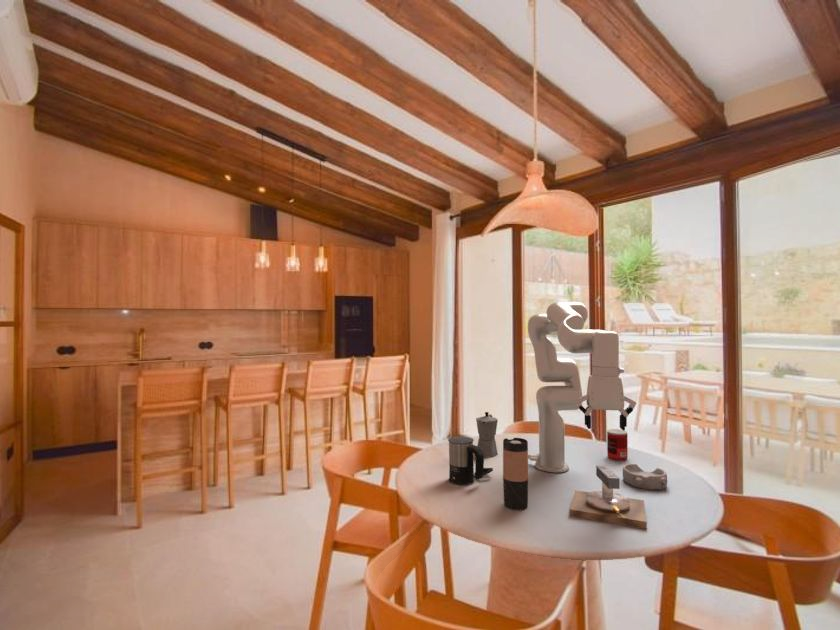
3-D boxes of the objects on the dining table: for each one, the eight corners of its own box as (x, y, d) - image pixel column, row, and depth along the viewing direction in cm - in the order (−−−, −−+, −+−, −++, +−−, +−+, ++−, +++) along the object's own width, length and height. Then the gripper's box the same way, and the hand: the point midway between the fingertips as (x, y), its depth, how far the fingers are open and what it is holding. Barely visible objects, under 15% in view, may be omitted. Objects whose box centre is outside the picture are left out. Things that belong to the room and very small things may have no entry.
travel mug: (523, 512, 132) (523, 445, 132) (499, 507, 136) (499, 441, 136) (531, 503, 138) (531, 439, 139) (508, 498, 143) (508, 436, 143)
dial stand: (569, 516, 129) (569, 508, 129) (575, 496, 144) (575, 489, 144) (646, 529, 121) (646, 521, 121) (644, 506, 136) (644, 499, 136)
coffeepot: (494, 459, 183) (494, 415, 183) (472, 457, 186) (472, 414, 186) (501, 449, 197) (501, 409, 197) (481, 447, 200) (480, 407, 201)
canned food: (628, 456, 186) (628, 430, 186) (626, 461, 179) (625, 434, 179) (609, 453, 190) (609, 428, 190) (605, 458, 183) (605, 432, 184)
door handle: (581, 495, 139) (581, 464, 139) (620, 496, 138) (620, 465, 139) (596, 515, 125) (595, 481, 125) (640, 516, 124) (639, 482, 124)
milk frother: (444, 483, 157) (444, 440, 157) (460, 469, 171) (460, 430, 171) (482, 489, 150) (482, 445, 151) (496, 475, 165) (495, 434, 165)
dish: (620, 475, 165) (620, 461, 165) (662, 479, 160) (662, 465, 160) (625, 489, 151) (625, 474, 151) (671, 494, 146) (671, 478, 147)
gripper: (631, 371, 137) (632, 426, 137) (573, 369, 140) (573, 424, 140) (639, 374, 129) (639, 432, 129) (577, 373, 132) (577, 430, 132)
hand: (605, 428), depth 135 cm, fingers open, 9 cm apart
